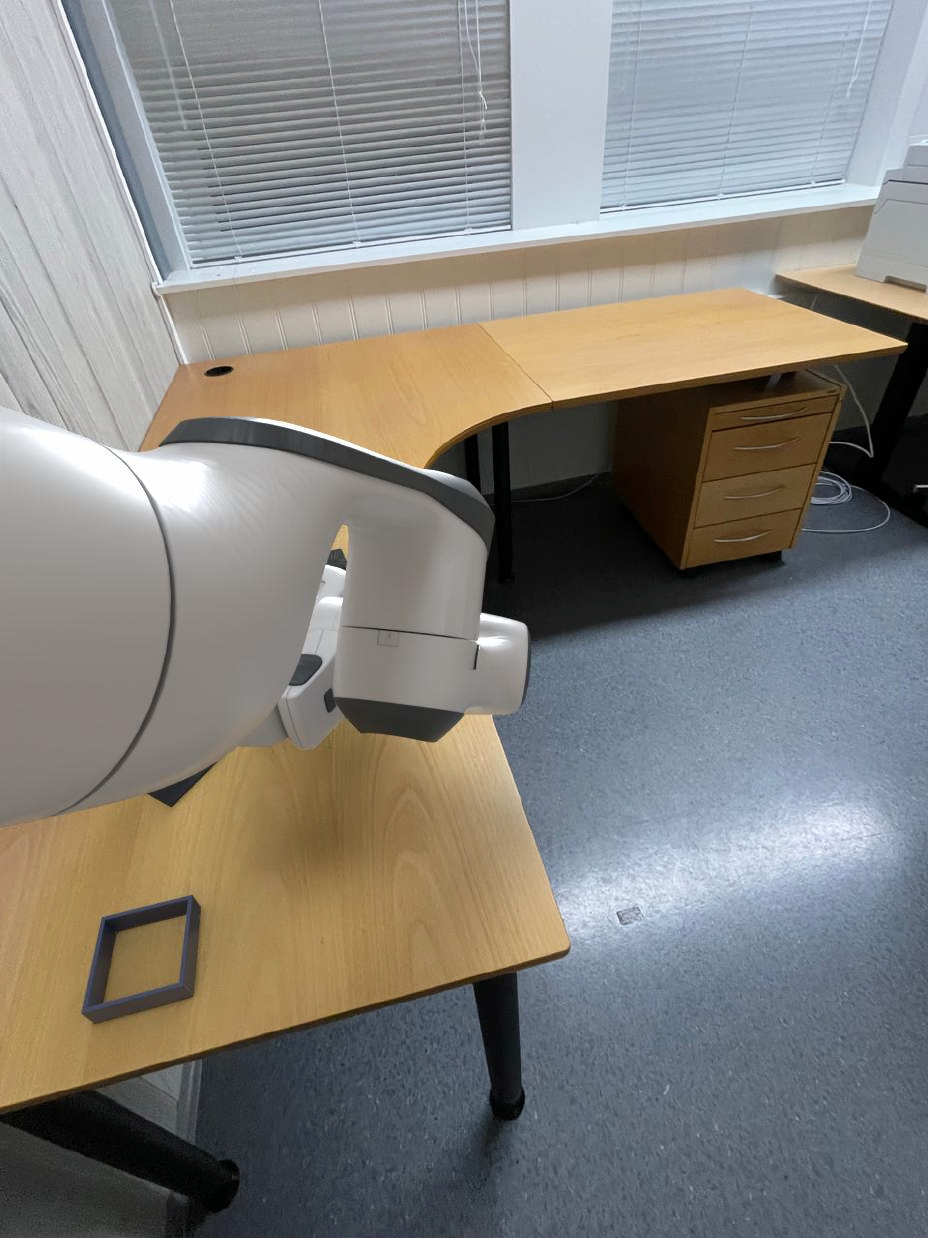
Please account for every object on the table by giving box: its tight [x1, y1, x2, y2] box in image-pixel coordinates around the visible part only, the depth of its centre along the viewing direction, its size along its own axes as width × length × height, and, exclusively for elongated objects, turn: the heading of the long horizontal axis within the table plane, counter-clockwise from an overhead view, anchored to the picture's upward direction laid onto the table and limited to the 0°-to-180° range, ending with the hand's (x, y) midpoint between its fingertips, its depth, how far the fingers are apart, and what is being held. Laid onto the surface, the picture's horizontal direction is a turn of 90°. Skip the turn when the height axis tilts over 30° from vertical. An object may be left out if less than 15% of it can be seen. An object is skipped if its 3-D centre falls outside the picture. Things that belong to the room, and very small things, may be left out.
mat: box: [146, 762, 217, 808], centre depth 74 cm, size 9×9×1 cm
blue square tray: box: [80, 894, 202, 1025], centre depth 55 cm, size 8×8×3 cm
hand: (195, 633), depth 54 cm, fingers open, 8 cm apart
